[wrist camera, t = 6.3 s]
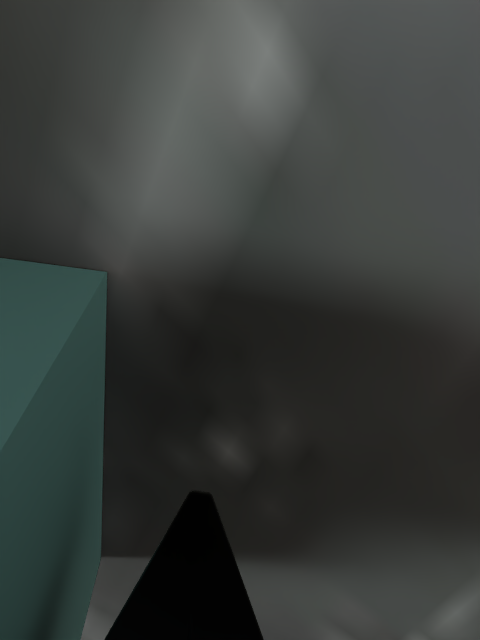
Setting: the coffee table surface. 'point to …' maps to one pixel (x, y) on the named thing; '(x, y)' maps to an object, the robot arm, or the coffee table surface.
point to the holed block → (50, 446)
